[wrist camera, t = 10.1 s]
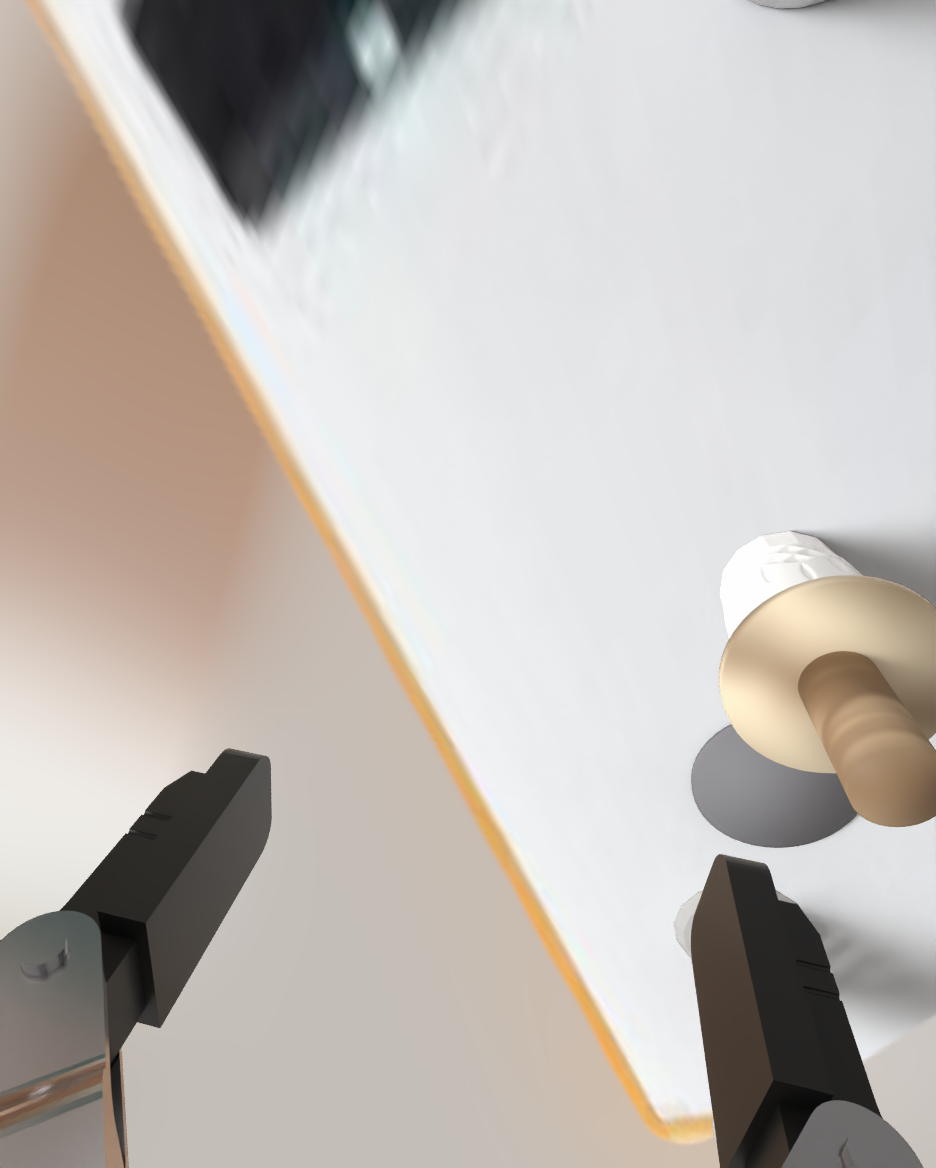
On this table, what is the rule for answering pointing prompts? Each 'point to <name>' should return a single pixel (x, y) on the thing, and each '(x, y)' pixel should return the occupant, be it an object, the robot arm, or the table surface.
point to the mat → (765, 796)
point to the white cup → (774, 571)
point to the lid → (842, 690)
